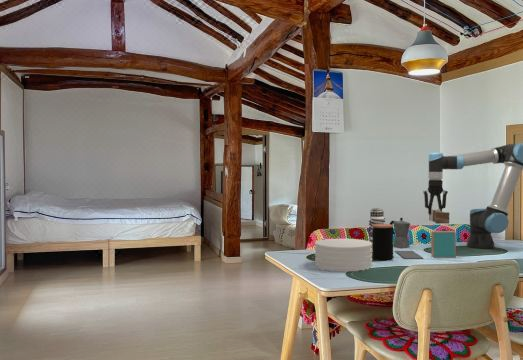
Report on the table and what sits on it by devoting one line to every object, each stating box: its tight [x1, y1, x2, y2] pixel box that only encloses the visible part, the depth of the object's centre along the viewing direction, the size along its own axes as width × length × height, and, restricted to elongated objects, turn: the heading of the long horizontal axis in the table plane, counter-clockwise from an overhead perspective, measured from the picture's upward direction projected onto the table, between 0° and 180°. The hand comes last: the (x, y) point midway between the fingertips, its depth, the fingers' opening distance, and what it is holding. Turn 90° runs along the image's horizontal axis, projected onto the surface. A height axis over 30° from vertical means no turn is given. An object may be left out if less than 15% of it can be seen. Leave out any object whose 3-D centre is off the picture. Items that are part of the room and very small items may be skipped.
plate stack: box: [314, 238, 373, 272], centre depth 233 cm, size 28×28×12 cm
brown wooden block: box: [428, 209, 450, 225], centre depth 264 cm, size 18×7×6 cm, turn 178°
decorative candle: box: [368, 207, 386, 251], centre depth 269 cm, size 9×9×25 cm
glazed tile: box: [430, 230, 457, 259], centre depth 251 cm, size 12×2×14 cm, turn 87°
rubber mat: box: [394, 250, 424, 260], centre depth 258 cm, size 10×22×1 cm, turn 177°
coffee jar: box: [372, 223, 394, 261], centre depth 249 cm, size 11×11×18 cm
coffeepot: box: [389, 217, 411, 249], centre depth 285 cm, size 15×9×18 cm, turn 33°
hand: (435, 220), depth 268 cm, fingers closed on brown wooden block, 3 cm apart
